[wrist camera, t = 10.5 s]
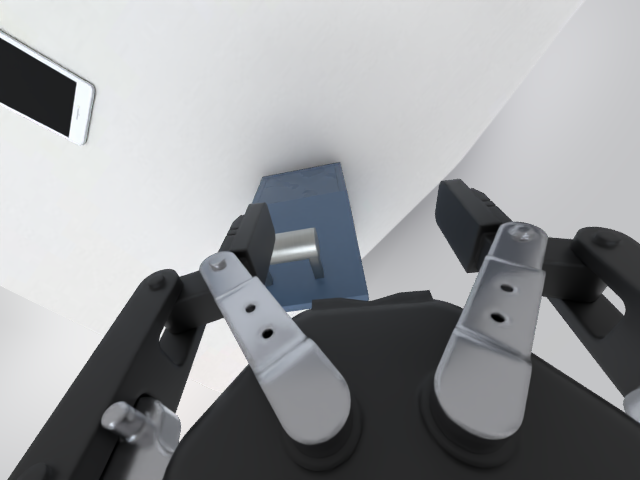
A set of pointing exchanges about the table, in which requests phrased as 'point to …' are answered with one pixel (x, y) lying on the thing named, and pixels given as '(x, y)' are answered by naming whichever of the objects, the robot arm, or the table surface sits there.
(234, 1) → the table surface
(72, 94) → the cell phone
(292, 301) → the lid
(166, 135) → the table surface
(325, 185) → the chest
